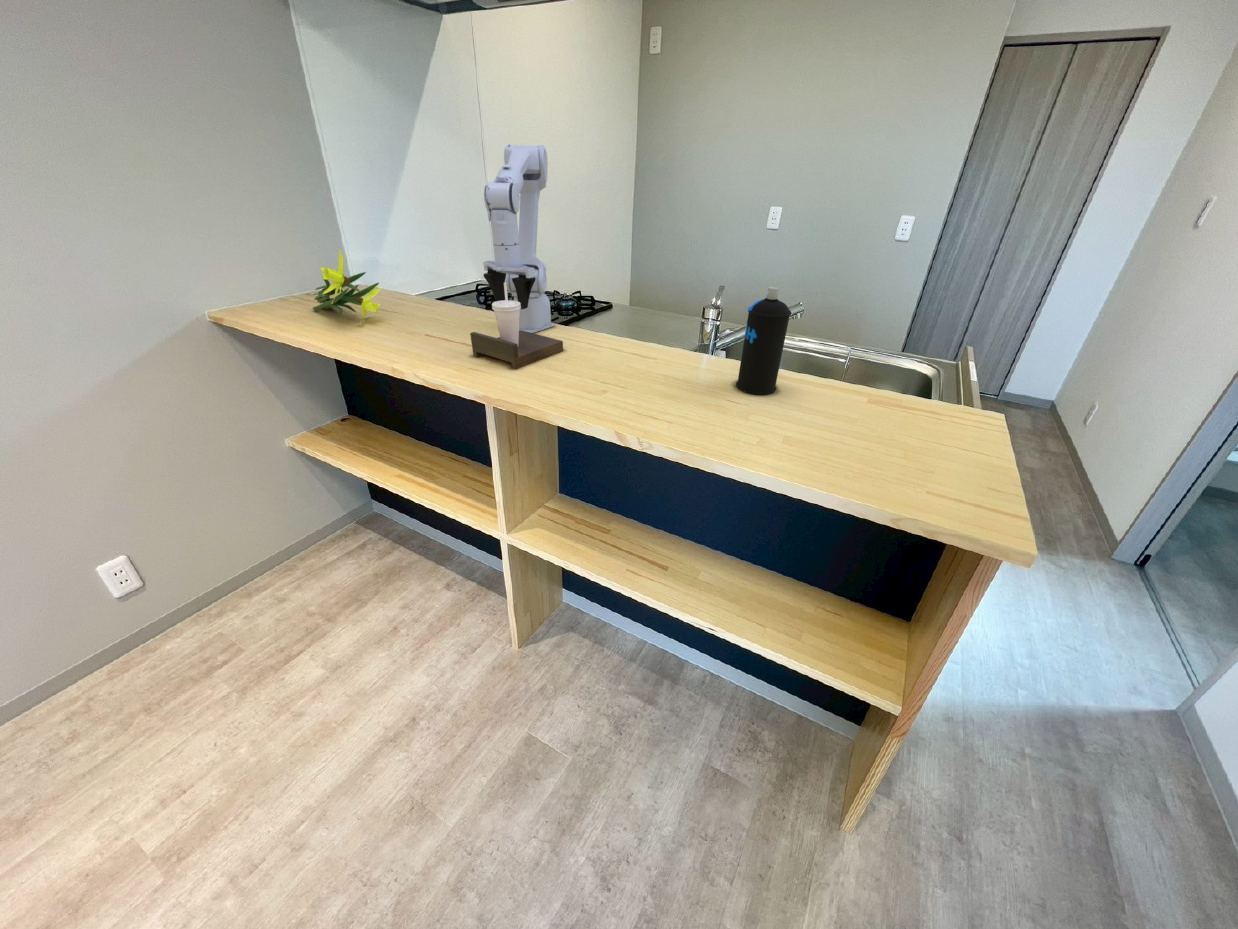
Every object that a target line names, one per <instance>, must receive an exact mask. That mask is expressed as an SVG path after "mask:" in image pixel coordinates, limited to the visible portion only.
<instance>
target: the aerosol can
mask: <svg viewBox="0 0 1238 929" xmlns="http://www.w3.org/2000/svg"><path fill="white" fill-rule="evenodd" d="M779 291H780V288H779V287H777V286H768V287H767V294H766V297H765V298H763V299H759V300H757V301H755V302H753V303H752V304H751V305H750V306H749V307H748V308H747V312H748V313H747V319H746V325H745V332H744V337H743V338H744V339H743V345H742V351H741V358H740V363H739V370H738V376H737V381H736V383H735V387H736V388H737V389H738V390H739V391H740V392H743V393H746V394H750V395H755V396H763V395H764V396H767V395H771V394H774V393H775V392H776V391H777V380H778V375H779V370H780V366H781V360H782V356H783V351H784V346H785V341H786V337H787V331H788V325H789V322H790V321H789V320H790V317H791V315H792V311H791V310H790V308H789V307H788V305H787V304H786V303H785V302H783V301H781V300H779V299H778V295H779Z"/></svg>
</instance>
